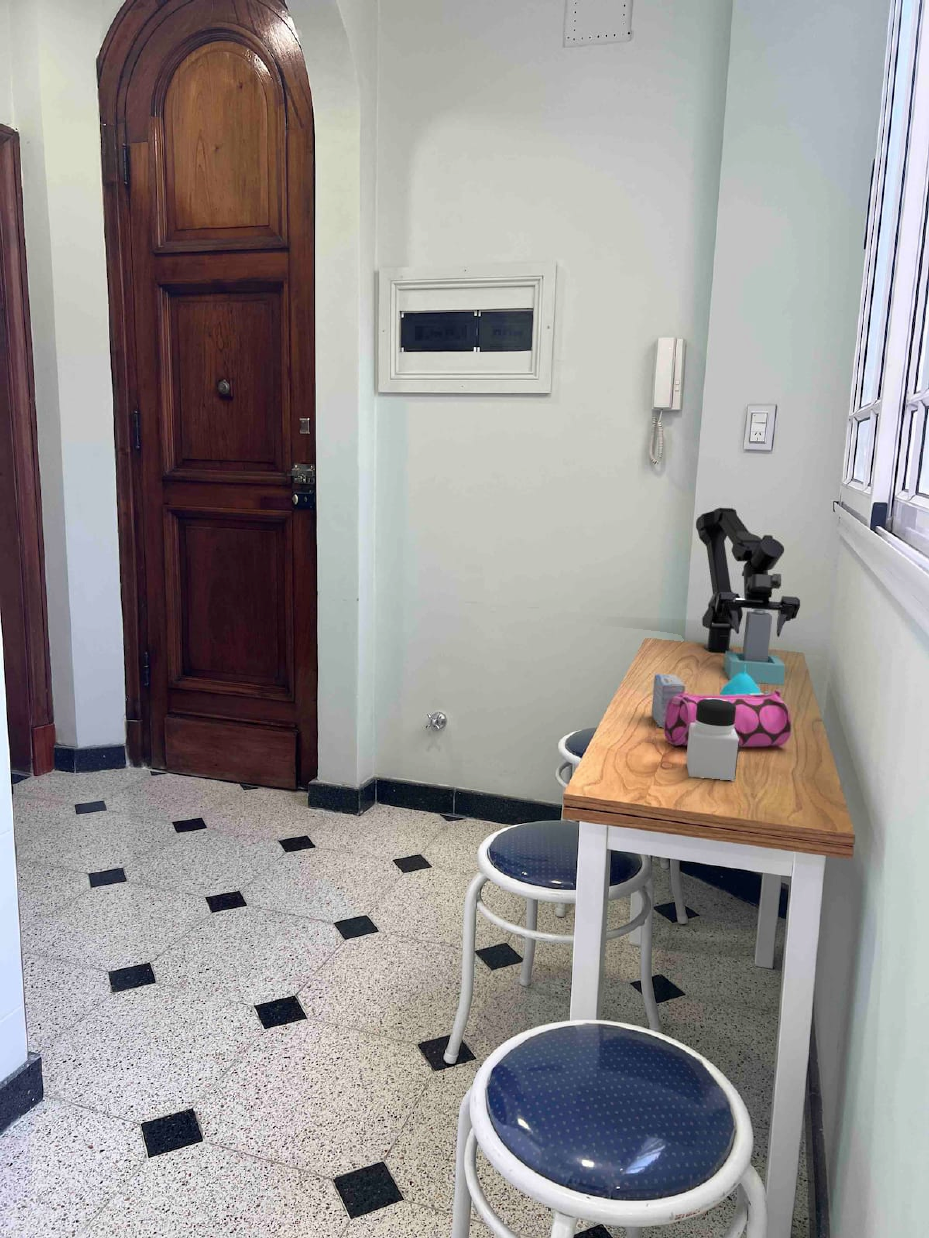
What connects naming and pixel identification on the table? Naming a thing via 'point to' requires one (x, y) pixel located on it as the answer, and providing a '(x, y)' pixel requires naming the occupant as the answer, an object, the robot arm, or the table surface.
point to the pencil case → (755, 718)
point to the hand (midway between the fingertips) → (758, 634)
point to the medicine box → (664, 695)
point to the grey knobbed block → (757, 636)
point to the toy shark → (740, 685)
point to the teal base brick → (755, 668)
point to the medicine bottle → (713, 741)
